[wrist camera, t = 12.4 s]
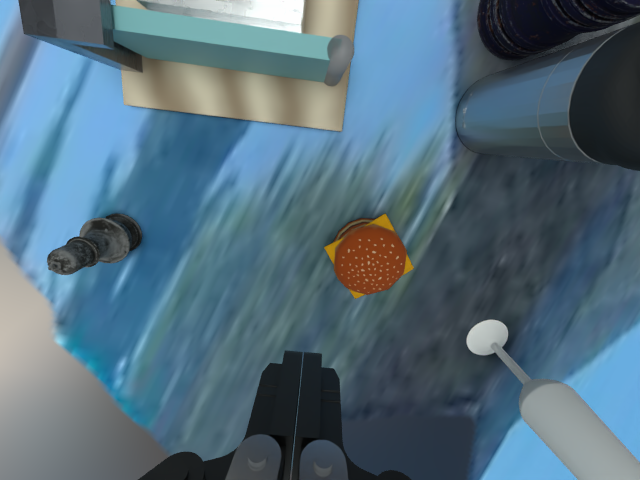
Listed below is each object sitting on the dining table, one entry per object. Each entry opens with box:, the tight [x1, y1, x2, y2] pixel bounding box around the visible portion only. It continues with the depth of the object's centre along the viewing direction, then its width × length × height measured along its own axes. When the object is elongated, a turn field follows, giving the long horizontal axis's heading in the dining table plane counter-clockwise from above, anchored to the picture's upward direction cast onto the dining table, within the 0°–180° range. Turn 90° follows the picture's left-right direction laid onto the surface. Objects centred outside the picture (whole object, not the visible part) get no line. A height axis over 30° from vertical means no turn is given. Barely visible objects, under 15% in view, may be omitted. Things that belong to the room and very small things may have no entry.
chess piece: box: [47, 214, 142, 275], centre depth 35 cm, size 6×6×12 cm
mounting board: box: [116, 0, 359, 132], centre depth 33 cm, size 25×18×2 cm
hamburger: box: [324, 214, 414, 299], centre depth 40 cm, size 9×10×7 cm
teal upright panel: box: [111, 5, 354, 86], centre depth 28 cm, size 21×2×10 cm, turn 83°
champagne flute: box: [467, 320, 640, 480], centre depth 37 cm, size 7×7×24 cm
